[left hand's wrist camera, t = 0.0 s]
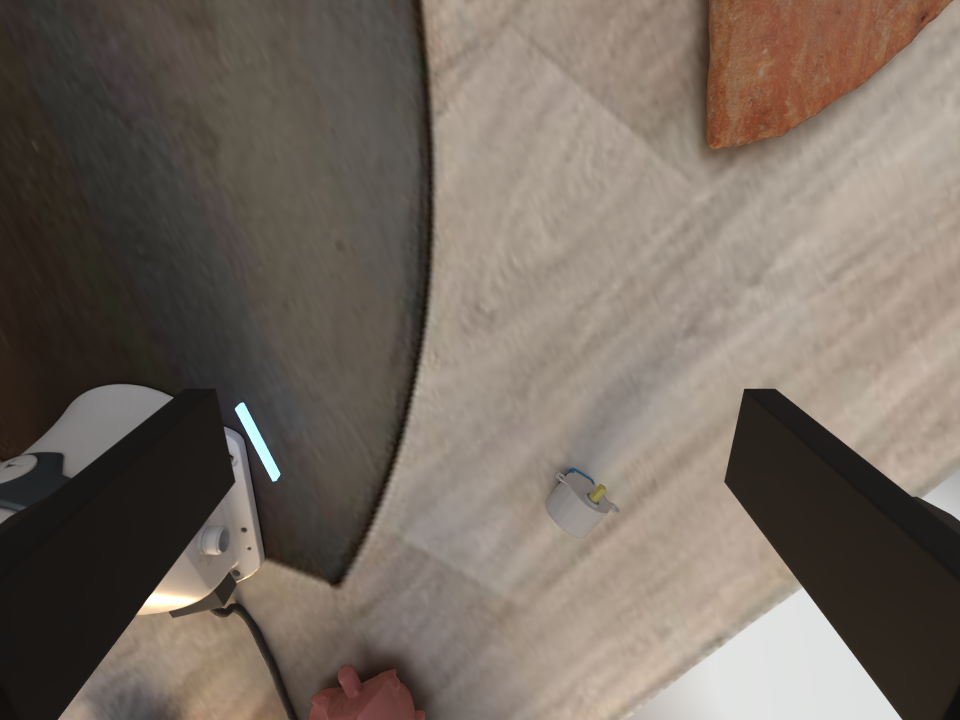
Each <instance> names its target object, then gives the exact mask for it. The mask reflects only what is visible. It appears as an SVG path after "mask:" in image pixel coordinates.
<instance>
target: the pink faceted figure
mask: <svg viewBox="0 0 960 720" xmlns="http://www.w3.org/2000/svg"><path fill="white" fill-rule="evenodd" d="M338 680H339V682H340V684H341V686H342V687H332V688H326V689H323V690H321V691H319V692H318V693H316V694H315V695H313V696H312V698H311V702H312V704H313V706H312V708H311V710H310V713H309V716H308V719H307V720H424V718H425V711H422V710H415V709H414V705H413V700H412V697H411V694H410V692H409V691H408V689H407V687H406V686H405V685H404V684H403V683H401V682H400V681H399V679H398V678H397V677H396V669H392V670H390V671H385V672H382V673H380V674H379V675H378V676H375V677H374V678H372V679H369V680H367V681H366V682H364V683H361V682H360V680H359V678H358V676H357V674H356V672H355V670H354V668H353V666H352V665H350V664H347V665H344V666H343V667H341V669H340V670H339V672H338Z"/></svg>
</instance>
